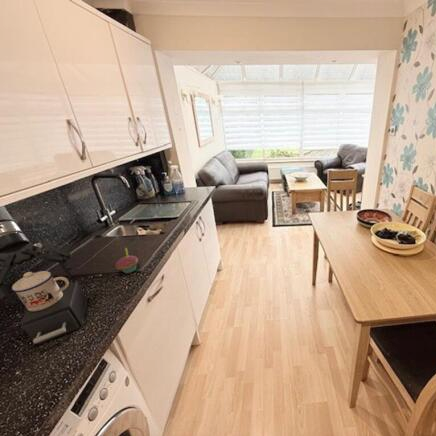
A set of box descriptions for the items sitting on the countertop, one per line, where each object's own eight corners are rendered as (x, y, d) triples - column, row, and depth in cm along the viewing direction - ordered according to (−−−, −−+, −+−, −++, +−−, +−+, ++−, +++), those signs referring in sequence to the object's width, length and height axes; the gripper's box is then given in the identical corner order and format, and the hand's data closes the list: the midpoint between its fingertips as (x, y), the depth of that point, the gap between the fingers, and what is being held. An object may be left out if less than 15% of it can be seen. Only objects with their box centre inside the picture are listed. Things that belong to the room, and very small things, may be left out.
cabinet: (83, 326, 80) (69, 305, 76) (36, 345, 74) (19, 323, 70) (88, 300, 91) (76, 281, 87) (48, 315, 86) (34, 295, 82)
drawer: (77, 336, 75) (65, 319, 72) (33, 355, 70) (18, 337, 67) (84, 303, 89) (74, 287, 85) (47, 316, 84) (36, 300, 81)
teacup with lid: (22, 317, 73) (0, 287, 68) (32, 299, 80) (12, 271, 75) (72, 300, 78) (54, 271, 73) (77, 284, 85) (61, 258, 80)
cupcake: (140, 262, 112) (131, 241, 107) (141, 271, 106) (132, 249, 101) (119, 269, 108) (108, 247, 103) (119, 279, 102) (107, 256, 97)
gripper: (-62, 253, 65) (-18, 315, 64) (55, 217, 83) (91, 265, 82) (-50, 263, 70) (-10, 321, 69) (58, 228, 88) (91, 272, 87)
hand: (45, 290), depth 75 cm, fingers open, 13 cm apart
